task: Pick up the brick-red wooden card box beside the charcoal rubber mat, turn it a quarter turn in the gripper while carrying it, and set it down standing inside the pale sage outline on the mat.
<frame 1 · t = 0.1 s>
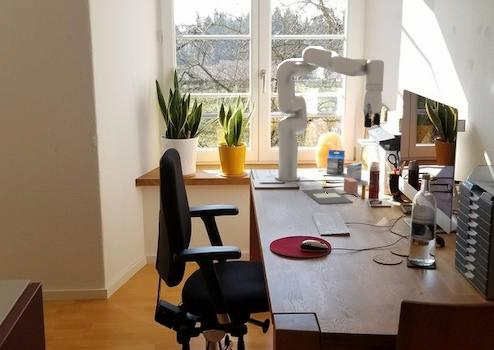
hand: (372, 126, 260), 31 cm above the table, tool pointing down, fingers open, 9 cm apart
label tape box: (335, 173, 307), on the table
mat: (326, 196, 259), on the table
card box: (350, 192, 268), on the table
medicine box: (353, 181, 291), on the table
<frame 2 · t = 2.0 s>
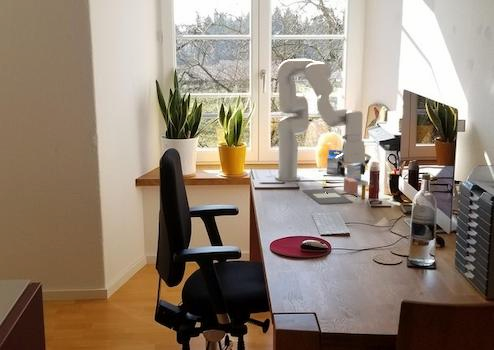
hand: (352, 174, 265), 8 cm above the table, tool pointing down, fingers open, 9 cm apart
nothing on the table moved.
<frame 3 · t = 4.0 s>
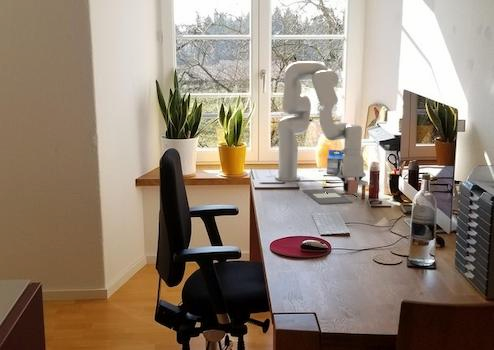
hand: (350, 190, 267), 1 cm above the table, tool pointing down, fingers closed on card box, 4 cm apart
card box: (350, 192, 268), on the table, touching gripper
everything else where it was.
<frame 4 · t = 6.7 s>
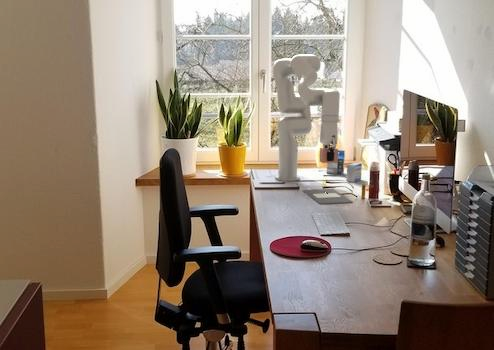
hand: (328, 159, 255), 17 cm above the table, tool pointing down, fingers closed on card box, 4 cm apart
card box: (328, 161, 255), point 16 cm above the table, touching gripper
everything else where it was.
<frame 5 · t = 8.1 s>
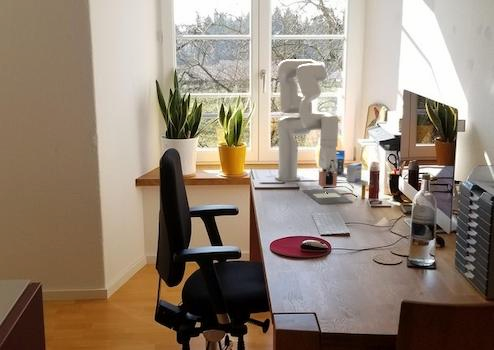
hand: (327, 183, 257), 6 cm above the table, tool pointing down, fingers closed on card box, 4 cm apart
card box: (327, 185, 257), point 5 cm above the table, touching gripper
everything else where it was.
when the fingers open (3 cm above the table, at t = 9.5 s): card box drops 1 cm, resting on mat.
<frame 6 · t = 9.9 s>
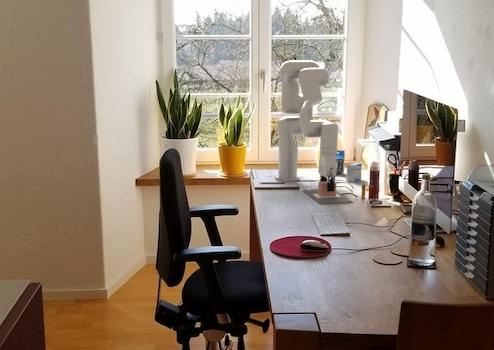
hand: (326, 188, 258), 4 cm above the table, tool pointing down, fingers open, 8 cm apart
card box: (326, 195, 259), point 1 cm above the table, touching mat
everything else where it was.
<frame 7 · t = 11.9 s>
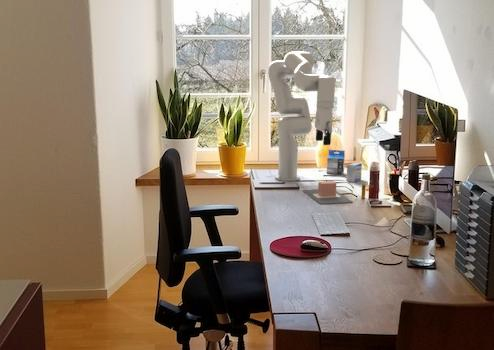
hand: (322, 142, 258), 24 cm above the table, tool pointing down, fingers open, 9 cm apart
nothing on the table moved.
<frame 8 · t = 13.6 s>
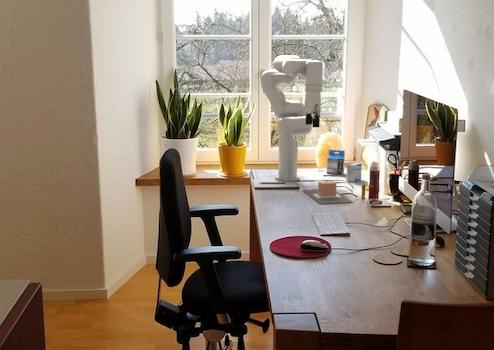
hand: (312, 125, 265), 30 cm above the table, tool pointing down, fingers open, 9 cm apart
nothing on the table moved.
at the end: card box inside the target area on the mat (0.1 cm from its centre), point 0.6 cm above the mat's base; card box tilted 0°; the gripper is holding nothing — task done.
